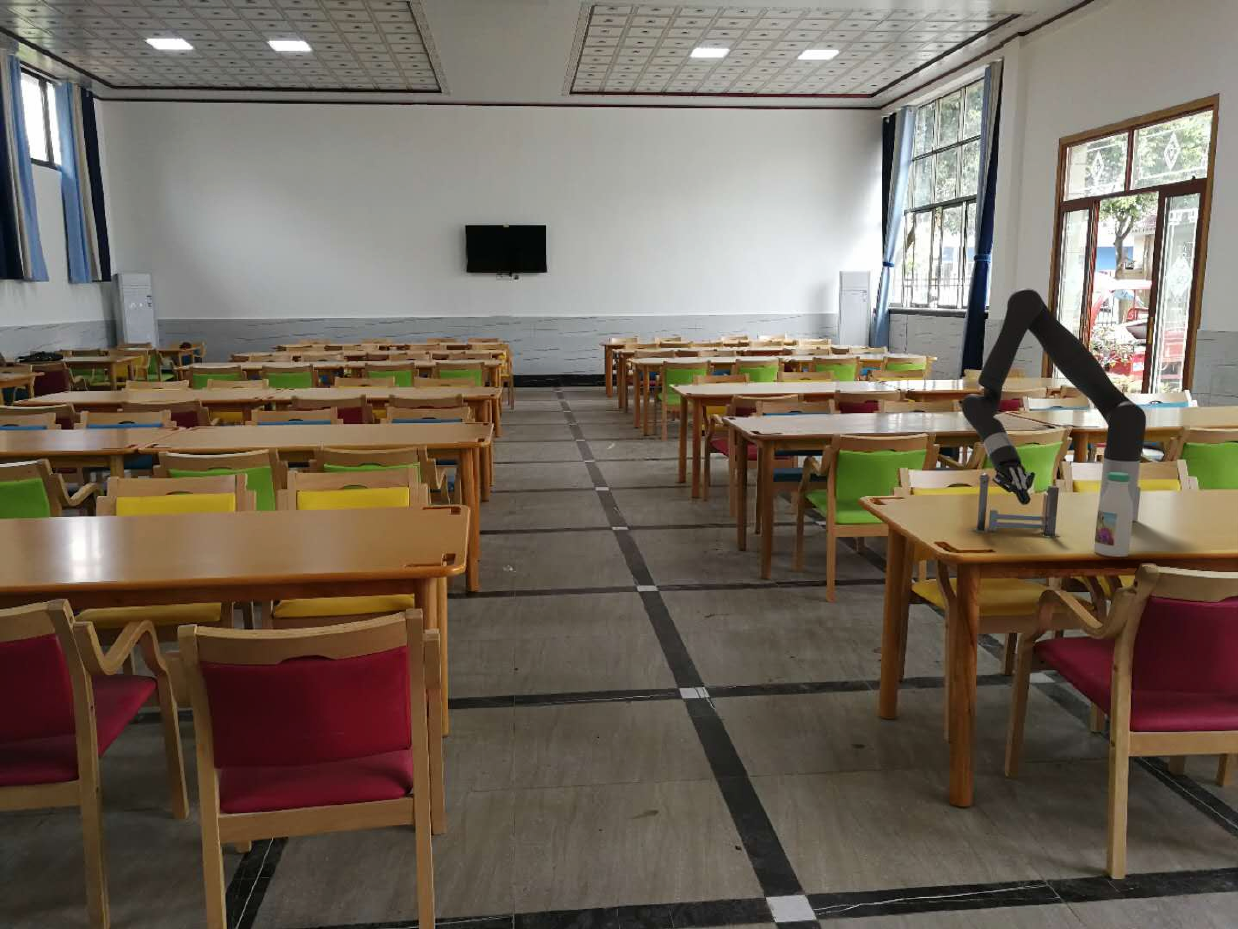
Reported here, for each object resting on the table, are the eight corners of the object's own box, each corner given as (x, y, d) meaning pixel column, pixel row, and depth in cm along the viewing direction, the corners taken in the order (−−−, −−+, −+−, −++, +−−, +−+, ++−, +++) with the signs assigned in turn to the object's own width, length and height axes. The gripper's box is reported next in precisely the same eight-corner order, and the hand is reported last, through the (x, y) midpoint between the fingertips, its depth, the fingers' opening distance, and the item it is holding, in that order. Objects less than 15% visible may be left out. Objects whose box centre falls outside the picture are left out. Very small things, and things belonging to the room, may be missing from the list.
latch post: (1039, 532, 253) (1043, 485, 251) (1054, 533, 253) (1058, 485, 250) (1044, 536, 249) (1048, 488, 247) (1060, 537, 249) (1064, 488, 246)
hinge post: (985, 529, 257) (989, 472, 254) (990, 532, 253) (995, 475, 250) (970, 529, 257) (974, 472, 254) (975, 532, 253) (980, 475, 250)
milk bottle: (1121, 549, 236) (1129, 470, 233) (1134, 558, 229) (1142, 476, 225) (1088, 549, 237) (1096, 470, 234) (1101, 557, 230) (1108, 476, 226)
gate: (990, 530, 253) (993, 493, 252) (988, 528, 256) (990, 491, 254) (1053, 532, 252) (1056, 495, 250) (1050, 530, 254) (1053, 493, 252)
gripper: (987, 445, 266) (1012, 496, 256) (1028, 443, 269) (1054, 494, 259) (974, 460, 272) (998, 511, 262) (1015, 459, 275) (1040, 509, 265)
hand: (1026, 503), depth 261 cm, fingers closed
